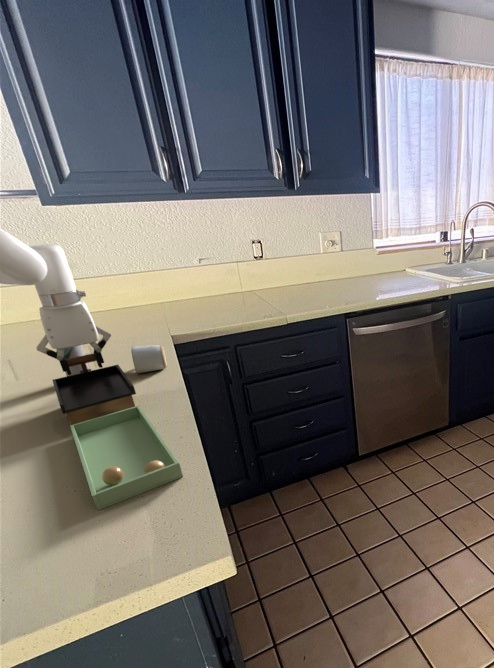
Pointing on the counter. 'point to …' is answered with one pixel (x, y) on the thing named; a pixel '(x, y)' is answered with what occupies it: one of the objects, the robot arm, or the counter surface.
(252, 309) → the counter surface
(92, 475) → the tray
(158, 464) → the ball
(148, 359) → the ceramic mug
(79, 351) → the lotion bottle
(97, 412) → the stand
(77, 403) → the pan
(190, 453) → the counter surface
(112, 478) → the ball
